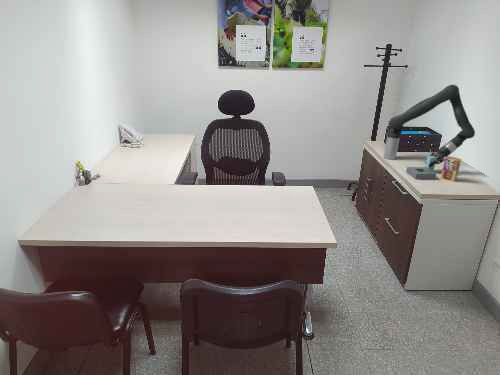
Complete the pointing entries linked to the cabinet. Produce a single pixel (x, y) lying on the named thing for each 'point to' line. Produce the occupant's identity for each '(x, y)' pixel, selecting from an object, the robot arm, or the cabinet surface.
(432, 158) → the teal peg
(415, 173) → the socket block
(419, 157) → the cabinet surface
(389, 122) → the robot arm
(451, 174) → the candy box
